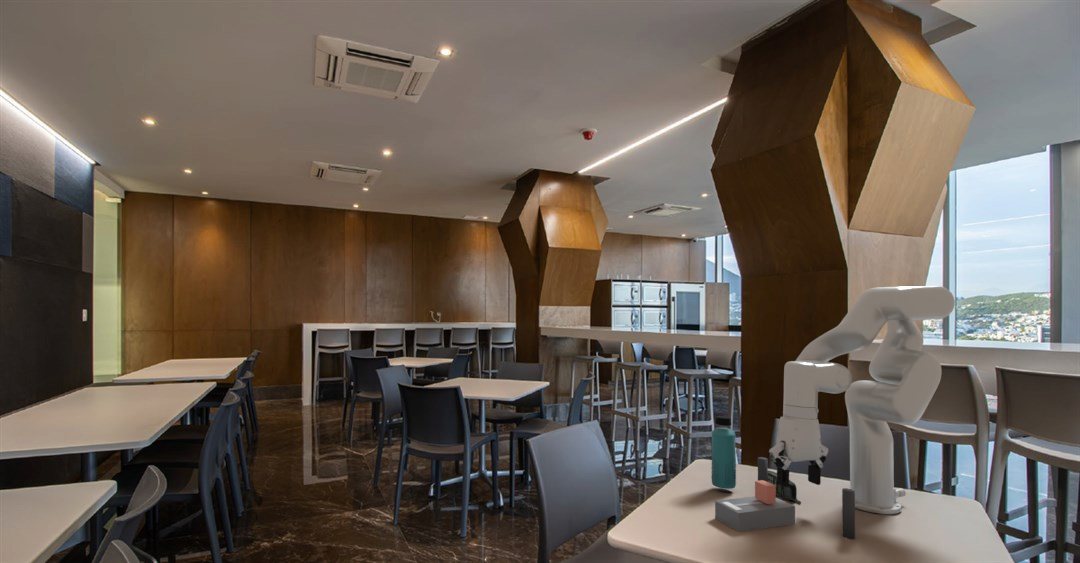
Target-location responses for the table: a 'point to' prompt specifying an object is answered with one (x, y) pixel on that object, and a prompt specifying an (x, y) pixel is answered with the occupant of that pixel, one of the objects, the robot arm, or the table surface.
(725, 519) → the box
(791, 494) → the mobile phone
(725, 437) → the beverage bottle
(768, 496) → the switch
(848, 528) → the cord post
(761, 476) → the post
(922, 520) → the table surface
